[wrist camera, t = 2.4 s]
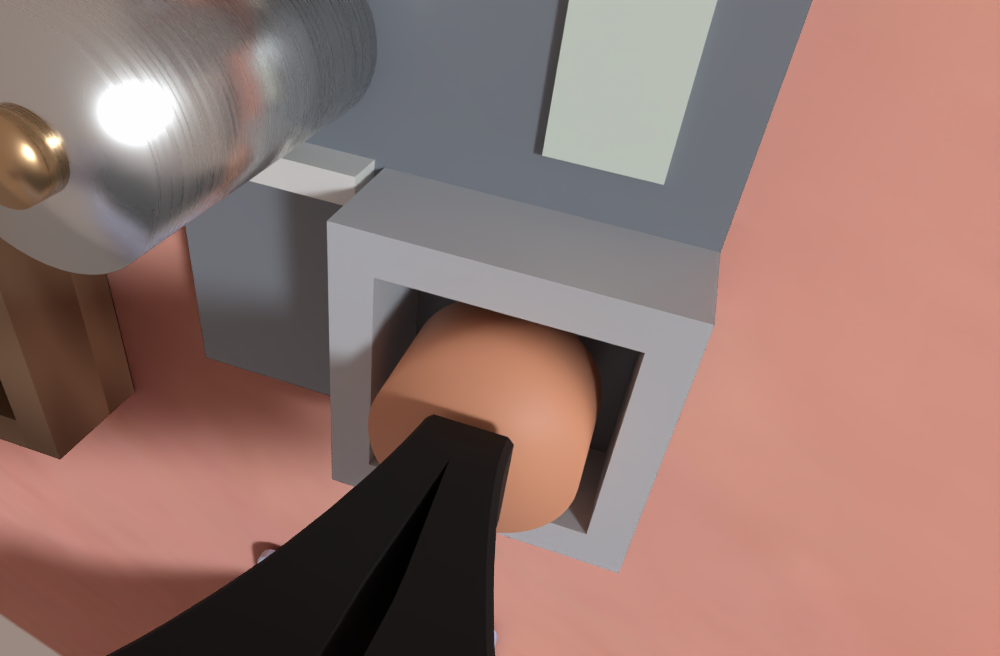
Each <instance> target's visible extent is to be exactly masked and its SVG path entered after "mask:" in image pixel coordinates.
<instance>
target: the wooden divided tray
mask: <svg viewBox="0 0 1000 656" xmlns="http://www.w3.org/2000/svg"><path fill="white" fill-rule="evenodd" d="M133 393H134V388H133V384H132V380H131V376H130V372H129V368H128V363H127V359H126V355H125V351H124V347H123V343H122V339H121V335H120V330H119V326H118V322H117V318H116V314H115V310H114V306H113V302H112V298H111V293H110V289H109V285H108V281H107V277H106V274H96V275H87V274H78V273H73V272H69V271H64V270H61V269H58V268H55V267H52V266H49V265H47V264H45V263H42V262H40V261H38V260H36V259H34V258H32V257H30V256H28V255H27V254H25V253H23V252H21V251H20V250H18V249H16V248H15V247H13V246H12V245H11V244H9V243H8V242H6V241H5V240H3V239H2V238H1V237H0V439H2V440H5V441H8V442H11V443H14V444H17V445H20V446H23V447H26V448H29V449H31V450H34V451H37V452H40V453H43V454H46V455H49V456H52V457H55V458H58V459H61V458H62V457H63V456H64V455H66V454H67V453H68V452H69V451H70V450H71V449H72V448H73V447H74V446H75V445H77V444H78V443H79V442H80V441H81V440H82V439H83V438H84V437H85V436H86V435H88V434H89V433H90V432H91V431H92V430H93V429H94V428H95V427H96V426H97V425H99V424H100V423H101V422H102V421H103V420H104V419H105V418H106V417H107V416H108V415H110V414H111V413H112V412H113V411H114V410H115V409H116V408H117V407H118V406H119V405H121V404H122V403H123V402H124V401H125V400H126V399H127V398H128V397H129V396H130V395H132V394H133Z"/></svg>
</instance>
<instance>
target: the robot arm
mask: <svg viewBox="0 0 1000 656" xmlns="http://www.w3.org/2000/svg"><path fill="white" fill-rule="evenodd" d="M513 447H514V444H513V443H512V441H511V440H510V439H509V437H507V436H503V435H500V434H497V433H493V432H490V431H487V430H484V429H480V428H477V427H474V426H471V425H467V424H464V423H461V422H457V421H454V420H451V419H448V418H444V417H441V416H438V415H435V414H433V415H431V416H428V417H426V418H425V419H424V420H423V421H422V423H421V424H420V425H419V426H418V427H417V428H416V429H415V430H414V431H413V432H412V433H411V434H410V435H409V436H408V437H407V438H406V439H405V440H404V441H403V442H402V443H401V444H400V445H399V446H398V447H397V448H396V449H395V450H394V451H393V452H392V453H391V454H390V455H389V456H388V457H387V458H386V459H385V460H384V461H383V462H382V463H381V464H379V465H378V466H377V467H376V468H375V469H374V470H373V471H372V472H371V473H370V474H369V475H368V476H366V477H365V478H364V479H363V480H362V481H361V482H360V483H358V484H357V485H356V486H355V487H354V488H353V489H352V490H350V491H349V492H348V493H347V494H346V495H345V496H344V497H342V498H341V499H340V500H339V501H338V502H337V503H336V504H334V505H333V506H332V507H331V508H330V509H328V510H327V511H326V512H325V513H323V514H322V515H321V516H320V517H318V518H317V519H316V520H314V521H313V522H312V523H311V524H309V525H308V526H307V527H306V528H304V529H303V530H302V531H300V532H299V533H298V534H297V535H295V536H294V537H293V538H292V539H290V540H289V541H288V542H287V543H285V544H284V545H283V546H281V547H280V548H279V549H277V550H272V549H269V550H265V551H263V552H262V554H261V555H260V557H259V558H258V561H257V564H256V565H255V566H253V567H252V568H251V569H249V570H248V571H246V572H245V573H243V574H242V575H240V576H239V577H237V578H236V579H234V580H233V581H231V582H230V583H228V584H227V585H226V586H224V587H223V588H221V589H219V590H218V591H216V592H215V593H213V594H212V595H210V596H208V597H207V598H205V599H204V600H202V601H200V602H199V603H197V604H196V605H194V606H192V607H191V608H189V609H187V610H186V611H184V612H183V613H181V614H179V615H178V616H176V617H175V618H173V619H171V620H170V621H168V622H166V623H165V624H163V625H161V626H159V627H158V628H156V629H154V630H153V631H151V632H149V633H147V634H146V635H144V636H142V637H140V638H139V639H137V640H135V641H133V642H131V643H129V644H127V645H126V646H124V647H122V648H120V649H118V650H116V651H114V652H112V653H111V654H109V655H107V656H495V646H496V642H497V633H496V632H495V630H494V559H495V541H496V528H497V525H498V521H499V517H500V512H501V507H502V502H503V497H504V492H505V487H506V482H507V477H508V472H509V467H510V462H511V457H512V452H513Z"/></svg>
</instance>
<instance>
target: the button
mask: <svg viewBox="0 0 1000 656" xmlns="http://www.w3.org/2000/svg"><path fill="white" fill-rule="evenodd" d="M601 399H602V387H601V380H600V376H599V372H598V369H597V366H596V364H595V362H594V360H593V358H592V356H591V354H590V353H589V351H588V350H587V348H586V347H585V345H584V344H583V343H582V342H581V340H580V339H579V338H578V337H577V336H576V335H575V334H574V333H571V332H567V331H564V330H560V329H557V328H553V327H549V326H546V325H542V324H539V323H535V322H532V321H528V320H524V319H521V318H517V317H514V316H510V315H506V314H503V313H499V312H496V311H492V310H488V309H485V308H481V307H478V306H474V305H470V304H467V303H463V302H460V301H458V302H455V303H453V304H450V305H448V306H446V307H444V308H442V309H441V310H439V311H438V312H436V313H435V314H434V315H433V316H432V317H431V318H429V319H428V321H427V322H426V323H425V324H424V326H423V327H422V328H421V330H420V331H419V333H418V334H417V336H416V337H415V339H414V340H413V342H412V343H411V345H410V346H409V348H408V349H407V351H406V352H405V354H404V355H403V357H402V358H401V360H400V361H399V363H398V364H397V366H396V367H395V369H394V370H393V372H392V373H391V375H390V376H389V378H388V379H387V381H386V382H385V384H384V385H383V387H382V388H381V390H380V391H379V393H378V394H377V396H376V398H375V400H374V402H373V403H372V406H371V409H370V412H369V418H368V434H369V439H370V444H371V447H372V449H373V452H374V455H375V457H376V459H377V460H378V462H379V464H381V463H382V462H383V461H384V460H385V459H386V458H387V457H388V456H389V455H390V454H391V453H392V452H393V451H394V450H395V449H396V448H397V447H398V446H399V445H400V444H401V443H402V442H403V441H404V440H405V439H406V438H407V437H408V436H409V435H410V434H411V433H412V432H413V431H414V430H415V429H416V428H417V427H418V426H419V425H420V424H421V423H422V421H423V420H424V419H425V418H426V417H428V416H431V415H433V414H435V415H438V416H441V417H444V418H448V419H451V420H454V421H457V422H461V423H464V424H467V425H471V426H474V427H477V428H480V429H484V430H487V431H490V432H493V433H497V434H500V435H503V436H507V437H509V439H510V440H511V441H512V443H513V444H514V447H513V452H512V457H511V462H510V467H509V472H508V477H507V482H506V487H505V492H504V497H503V502H502V507H501V512H500V517H499V521H498V525H497V528H496V533H515V532H523V531H528V530H533V529H536V528H539V527H542V526H544V525H546V524H548V523H550V522H552V521H554V520H555V519H557V518H558V517H559V516H561V515H562V514H563V513H564V512H565V511H566V510H567V509H568V508H569V506H570V505H571V503H572V502H573V500H574V498H575V496H576V493H577V491H578V487H579V484H580V480H581V476H582V473H583V469H584V465H585V461H586V458H587V454H588V450H589V446H590V443H591V439H592V435H593V432H594V428H595V424H596V420H597V417H598V413H599V409H600V404H601Z"/></svg>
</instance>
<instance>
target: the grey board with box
mask: <svg viewBox="0 0 1000 656" xmlns="http://www.w3.org/2000/svg"><path fill="white" fill-rule="evenodd" d="M367 2H368V4H369V7H370V9H371V12H372V16H373V20H374V24H375V29H376V36H377V59H376V66H375V71H374V75H373V78H372V80H371V83H370V85H369V87H368V89H367V91H366V93H365V94H364V96H363V97H362V98H361V100H360V101H359V102H358V103H357V104H356V105H355V106H354V107H353V108H352V109H350V110H349V111H348V112H346V113H345V114H343V115H342V116H340V117H339V118H338V119H336V120H335V121H333V122H332V123H330V124H329V125H328V126H326V127H325V128H323V129H322V130H320V131H319V132H318V133H316V134H315V135H313V136H312V137H310V138H309V139H308V140H306V141H305V142H303V143H302V144H300V145H299V146H298V147H296V148H295V149H293V150H292V151H290V152H289V153H288V154H286V155H285V156H283V157H282V158H280V159H279V160H278V161H276V162H275V163H273V164H272V165H270V166H269V167H268V168H266V169H265V170H263V171H262V172H260V173H259V174H258V175H256V176H255V177H253V178H252V179H250V180H249V181H248V182H246V183H245V184H243V185H242V186H241V187H239V188H238V189H236V190H235V191H233V192H232V193H231V194H229V195H228V196H226V197H225V198H223V199H222V200H221V201H219V202H218V203H216V204H215V205H213V206H212V207H211V208H209V209H208V210H206V211H205V212H203V213H202V214H201V215H199V216H198V217H196V218H195V219H193V220H192V221H191V222H189V223H188V224H186V225H185V227H186V233H187V240H188V246H189V253H190V259H191V265H192V272H193V278H194V285H195V291H196V298H197V304H198V310H199V317H200V323H201V330H202V336H203V342H204V349H205V355H206V358H209V359H213V360H216V361H219V362H222V363H226V364H229V365H232V366H235V367H239V368H242V369H245V370H248V371H251V372H255V373H258V374H261V375H264V376H268V377H271V378H274V379H277V380H281V381H284V382H287V383H290V384H294V385H297V386H300V387H303V388H307V389H310V390H313V391H316V392H319V393H323V394H326V395H329V396H330V401H331V450H332V479H333V480H336V481H339V482H342V483H345V484H348V485H351V486H354V487H355V486H356V485H357V484H358V483H360V482H361V481H362V480H363V479H364V478H365V477H366V476H368V475H369V474H370V473H371V472H372V471H373V470H374V469H375V468H376V467H377V466H378V465H379V462H378V460H377V459H376V457H375V455H374V452H373V449H372V447H371V444H370V439H369V434H368V418H369V412H370V409H371V406H372V403H373V402H374V400H375V398H376V396H377V394H378V393H379V391H380V390H381V388H382V387H383V385H384V384H385V382H386V381H387V379H388V378H389V376H390V375H391V373H392V372H393V370H394V369H395V367H396V366H397V364H398V363H399V361H400V360H401V358H402V357H403V355H404V354H405V352H406V351H407V349H408V348H409V346H410V345H411V343H412V342H413V340H414V339H415V337H416V336H417V334H418V333H419V331H420V330H421V328H422V327H423V326H424V324H425V323H426V322H427V321H428V319H429V318H431V317H432V316H433V315H434V314H435V313H436V312H438V311H439V310H441V309H442V308H444V307H446V306H448V305H450V304H453V303H455V302H458V301H460V302H463V303H467V304H470V305H474V306H478V307H481V308H485V309H488V310H492V311H496V312H499V313H503V314H506V315H510V316H514V317H517V318H521V319H524V320H528V321H532V322H535V323H539V324H542V325H546V326H549V327H553V328H557V329H560V330H564V331H567V332H571V333H574V334H575V335H576V336H577V337H578V338H579V339H580V340H581V342H582V343H583V344H584V345H585V347H586V348H587V350H588V351H589V353H590V354H591V356H592V358H593V360H594V362H595V364H596V366H597V369H598V372H599V376H600V380H601V387H602V399H601V404H600V409H599V413H598V417H597V420H596V424H595V428H594V432H593V435H592V439H591V443H590V446H589V450H588V454H587V458H586V461H585V465H584V469H583V473H582V476H581V480H580V484H579V487H578V491H577V493H576V496H575V498H574V500H573V502H572V503H571V505H570V506H569V508H568V509H567V510H566V511H565V512H564V513H563V514H562V515H561V516H559V517H558V518H557V519H555V520H554V521H552V522H550V523H548V524H546V525H544V526H542V527H539V528H536V529H533V530H528V531H523V532H515V533H498V534H501V535H504V536H507V537H510V538H513V539H516V540H519V541H522V542H525V543H528V544H531V545H534V546H537V547H541V548H544V549H547V550H550V551H553V552H556V553H559V554H562V555H565V556H568V557H571V558H574V559H577V560H580V561H583V562H586V563H589V564H592V565H595V566H598V567H602V568H605V569H608V570H611V571H614V572H617V573H619V571H620V568H621V566H622V563H623V560H624V558H625V555H626V553H627V550H628V547H629V545H630V542H631V540H632V537H633V535H634V532H635V529H636V527H637V524H638V522H639V519H640V516H641V514H642V511H643V509H644V506H645V503H646V501H647V498H648V496H649V493H650V491H651V488H652V485H653V483H654V480H655V478H656V475H657V472H658V470H659V467H660V465H661V462H662V460H663V457H664V454H665V452H666V449H667V447H668V444H669V441H670V439H671V436H672V434H673V431H674V428H675V426H676V423H677V421H678V418H679V416H680V413H681V410H682V408H683V405H684V403H685V400H686V397H687V395H688V392H689V390H690V387H691V385H692V382H693V379H694V377H695V374H696V372H697V369H698V366H699V364H700V361H701V359H702V356H703V354H704V351H705V348H706V346H707V343H708V341H709V338H710V335H711V333H712V330H713V328H714V325H715V313H716V301H717V289H718V277H719V265H720V253H721V250H722V247H723V244H724V241H725V239H726V236H727V233H728V230H729V228H730V225H731V222H732V220H733V217H734V214H735V211H736V209H737V206H738V203H739V200H740V198H741V195H742V192H743V189H744V187H745V184H746V181H747V178H748V176H749V173H750V170H751V167H752V165H753V162H754V159H755V157H756V154H757V151H758V148H759V146H760V143H761V140H762V137H763V135H764V132H765V129H766V126H767V124H768V121H769V118H770V115H771V113H772V110H773V107H774V104H775V102H776V99H777V96H778V94H779V91H780V88H781V85H782V83H783V80H784V77H785V74H786V72H787V69H788V66H789V63H790V61H791V58H792V55H793V52H794V50H795V47H796V44H797V41H798V39H799V36H800V33H801V30H802V28H803V25H804V22H805V20H806V17H807V14H808V11H809V9H810V6H811V3H812V0H367Z"/></svg>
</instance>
